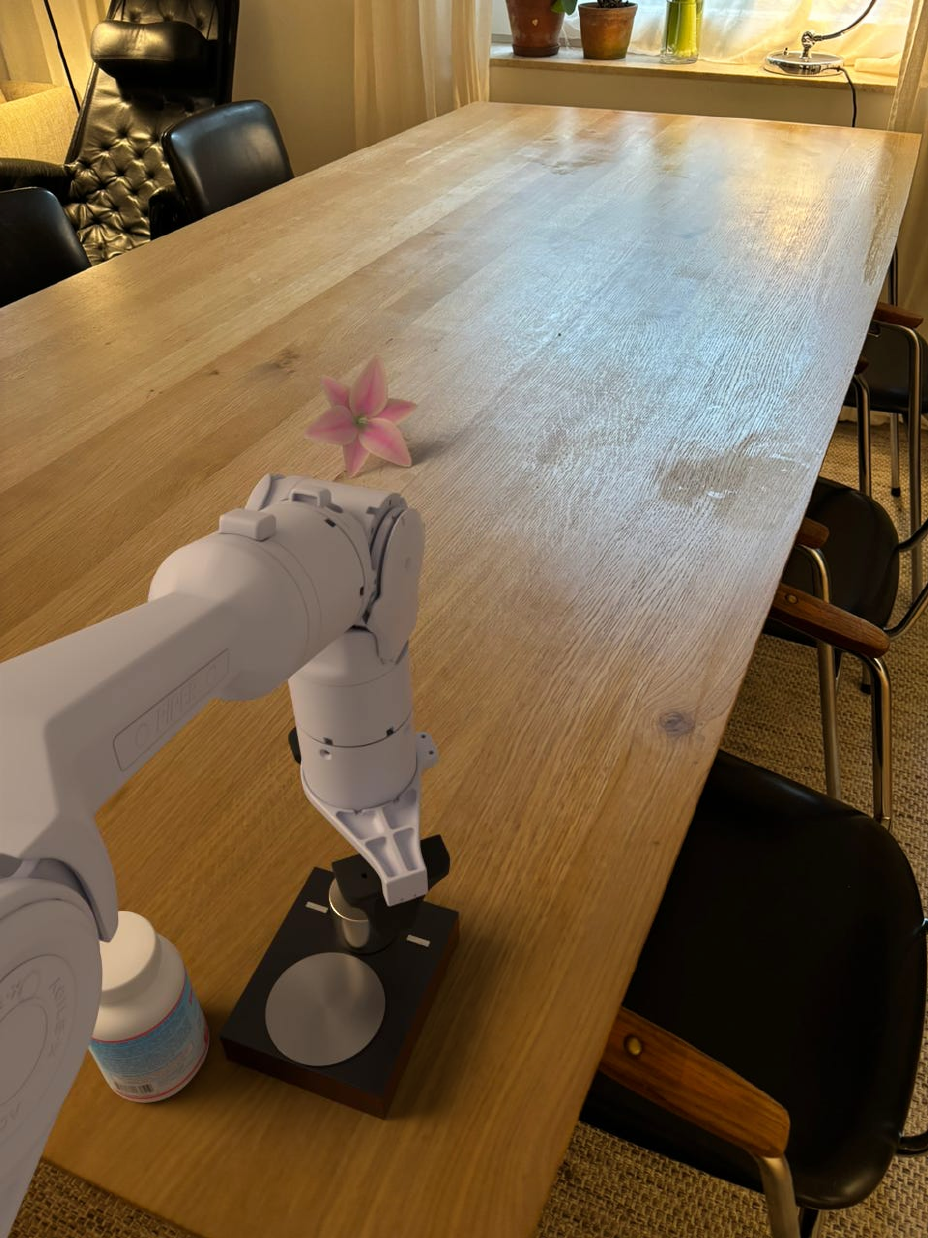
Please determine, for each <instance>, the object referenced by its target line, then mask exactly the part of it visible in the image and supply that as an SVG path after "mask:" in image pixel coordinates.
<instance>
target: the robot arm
mask: <svg viewBox="0 0 928 1238" xmlns="http://www.w3.org/2000/svg"><path fill="white" fill-rule="evenodd" d="M218 520H219V522H218V523H219V525H218V527H219V528H218V529H217V530H215V531H212V532H211V533H209V534H207V535H205V536H203V537H201V538H199V539H196V540H194V541H192V542H190V543H188V544H186V545H184V546H181V547H179V548H177V549H176V550H175V551H173V552H172V553H171V554H170V555H168V556H167V557H166V558H165V559H164V560H163V561H162V563H161V564H160V565H159V567H158V568H157V570H156V572H155V574H154V576H153V577H152V579H151V582H150V586H149V589H148V590H149V591H148V595H147V602H145V603H143V604H140V605H137V606H135V607H132V608H129V609H128V610H126V611H123V612H121V613H119V614H116V615H114V616H112V617H109V618H106V619H104V620H101V621H99V622H97V623H94V624H92V625H90V626H87V627H85V628H83V629H80V630H78V631H75V632H73V633H70V634H68V635H65V636H63V637H60V638H58V639H56V640H54V641H50V642H49V643H46V644H44V645H41V646H38V647H37V648H34V649H31V650H29V651H27V652H25V653H22V654H19V655H17V656H14V657H12V658H10V659H8V660H5V661H2V662H0V1238H9V1234H10V1232H11V1230H12V1227H13V1225H14V1223H15V1220H16V1218H17V1215H18V1213H19V1210H20V1208H21V1205H22V1203H23V1201H24V1199H25V1197H26V1194H27V1191H28V1189H29V1186H30V1184H31V1182H32V1179H33V1177H34V1174H35V1172H36V1170H37V1168H38V1165H39V1162H40V1160H41V1158H42V1155H43V1153H44V1150H45V1147H46V1145H47V1143H48V1140H49V1138H50V1135H51V1133H52V1131H53V1128H54V1127H55V1123H56V1121H57V1119H58V1116H59V1114H60V1112H61V1109H62V1106H63V1104H64V1102H65V1100H66V1098H67V1097H68V1094H69V1093H70V1091H71V1089H72V1087H73V1085H74V1083H75V1081H76V1079H77V1076H78V1074H79V1072H80V1069H81V1068H82V1065H83V1063H84V1060H85V1058H86V1055H87V1052H88V1051H89V1049H88V1047H89V1044H90V1041H91V1038H92V1035H93V1032H94V1028H95V1024H96V1020H97V1016H98V1011H99V1006H100V1000H101V993H102V977H103V972H102V959H101V953H100V943H99V940H100V941H103V942H106V943H109V942H111V940H112V939H113V937H114V935H115V933H116V931H117V927H118V911H119V903H118V891H117V882H116V875H115V871H114V866H113V864H112V860H111V857H110V855H109V852H108V849H107V847H106V845H105V842H104V840H103V837H102V835H101V832H100V830H99V828H98V825H97V823H96V820H95V816H96V814H97V812H98V810H100V808H101V807H102V806H103V805H104V804H105V803H107V802H108V800H110V799H111V798H112V796H114V795H115V794H116V793H117V792H118V791H119V790H120V789H121V788H122V787H123V786H124V785H125V784H126V783H127V782H129V780H130V779H132V777H133V776H134V775H135V774H137V773H138V772H139V771H140V770H141V769H142V767H144V766H145V765H146V764H147V763H148V762H149V761H150V760H151V759H152V758H153V757H154V756H155V755H156V754H157V753H159V751H160V750H162V748H164V746H166V745H167V744H168V743H169V742H170V741H171V740H172V739H173V738H174V737H175V736H176V735H177V734H178V733H179V732H180V731H181V730H182V729H183V728H185V726H186V725H187V724H189V722H191V720H193V718H194V717H196V716H197V715H198V714H199V713H200V712H201V711H202V710H203V709H204V708H205V707H206V706H207V705H208V704H209V703H210V702H211V701H212V700H213V699H216V700H221V701H225V702H235V703H236V702H249V701H255V700H258V699H261V698H264V697H265V696H268V695H270V694H271V693H272V692H274V691H275V690H277V689H278V688H279V687H281V686H282V685H283V684H284V683H286V681H287V684H288V689H289V694H290V700H291V706H292V712H293V717H294V722H295V726H294V727H293V728H292V729H291V730H290V731H289V733H288V736H287V741H288V745H289V747H290V751H291V754H292V756H293V759H294V761H295V762H296V763H297V764H298V765H299V766H300V779H301V785H302V789H303V792H304V794H305V796H306V798H307V800H308V801H309V802H310V803H311V805H312V806H313V807H314V808H315V809H316V810H317V812H319V813H320V814H321V815H322V816H323V817H324V818H325V819H326V820H327V822H328V823H330V824H331V825H332V826H333V828H335V830H336V831H338V833H339V834H340V835H341V836H342V837H343V838H344V839H345V840H346V841H347V842H348V843H349V844H350V845H351V847H353V848H354V849H355V850H356V851H357V852H358V853H356V854H353V855H349V856H347V857H344V858H341V859H337V860H335V861H331V863H330V865H331V869H332V872H334V875H335V878H336V881H337V884H338V887H339V890H340V893H341V895H342V896H343V898H344V899H345V901H346V902H347V903H348V905H349V906H350V907H354V908H358V909H361V910H362V911H363V912H364V913H365V914H366V916H367V918H368V921H369V923H370V925H371V927H372V929H373V931H374V932H375V933H376V935H377V936H378V937H381V938H382V937H384V936H387V935H390V934H393V933H396V932H399V931H402V930H404V929H407V928H410V927H412V926H413V925H414V922H415V920H416V918H417V915H418V912H419V910H420V907H421V904H422V902H423V901H425V900H424V899H425V897H426V896H427V895H428V893H429V892H430V891H431V889H433V887H434V886H436V885H437V884H438V883H439V882H440V881H442V880H443V879H444V878H446V877H447V876H448V875H449V874H450V870H451V857H450V856H451V855H450V853H449V851H448V848H447V846H446V844H445V842H444V840H443V838H442V836H441V834H440V833H438V834H433V835H431V836H428V837H424V838H422V839H421V815H422V813H421V806H422V805H421V804H422V803H421V802H422V801H421V800H422V775H423V772H424V771H426V770H428V769H431V768H434V767H435V766H437V765H438V763H439V762H440V755H439V754H440V753H439V749H438V746H437V744H436V742H435V741H434V739H433V737H432V735H431V734H430V733H429V732H427V731H417V732H416V731H415V718H414V717H415V716H414V714H415V713H414V700H413V699H414V697H413V681H412V668H411V667H412V666H411V653H410V652H411V651H410V637H411V635H412V633H413V631H414V630H415V628H416V626H417V622H418V613H419V611H420V610H419V609H420V607H419V584H420V578H421V573H422V568H423V563H424V562H423V561H424V555H425V548H426V547H425V545H426V523H424V522H423V518H422V515H421V514H420V511H418V509H416V508H414V507H408V503H407V501H406V499H405V498H404V497H403V496H402V494H401V493H399V492H395V491H388V490H383V489H377V488H372V487H366V486H360V485H355V484H349V483H343V482H338V481H332V480H327V479H320V478H316V477H315V478H314V477H310V476H303V475H298V474H291V475H288V476H286V475H284V474H280V473H275V474H273V473H270V472H267V473H265V475H264V476H263V477H262V478H261V479H260V480H259V481H258V483H256V485H255V487H254V488H253V490H252V492H251V494H250V496H249V498H248V499H247V503H246V505H245V506H244V508H241V507H237V508H234V509H232V510H230V511H227V512H225V513H223V514H221V515H220V516H219V519H218Z"/></svg>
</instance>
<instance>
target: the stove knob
mask: <svg viewBox="0 0 928 1238" xmlns="http://www.w3.org/2000/svg"><path fill="white" fill-rule="evenodd" d="M329 903H330V908H331V914H332V920H333V925H334V931H335V935H336V937H337V939H338V941H339V942H340V943H341V945H342V946H344V947H345V948H346V949H348V950H350V951H352V952H356V953H361V954H367V953H373V952H377V951H379V950H381V949H383V948H385V947H386V946H387V945H389V944H390V943H391V942H392V941H393V939H394V938H395V936H396V934H397V932H396V933H393V934H390V935H387V936H384V937H382V938H381V937H378V936H377V935H376V933H375V932H374V931H373V929H372V927H371V925H370V923H369V921H368V918H367V916H366V914H365V913H364V912H363V911H362V910H361V909H358V908H354V907H350V906H349V905H348V903H347V902H346V901H345V899H344V898H343V896H342V895H341V893H340V890H339V887H338V884H337V881H336V878H335V879H334V880H333V882H332V884H331V886H330V889H329Z"/></svg>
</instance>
